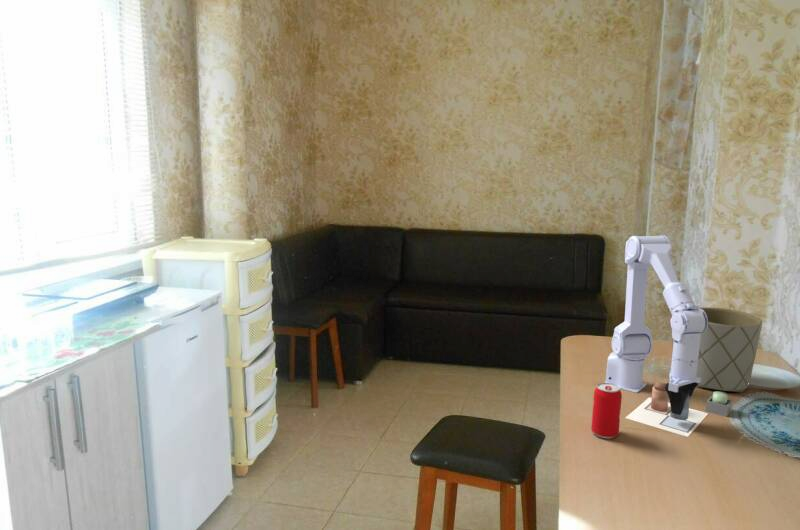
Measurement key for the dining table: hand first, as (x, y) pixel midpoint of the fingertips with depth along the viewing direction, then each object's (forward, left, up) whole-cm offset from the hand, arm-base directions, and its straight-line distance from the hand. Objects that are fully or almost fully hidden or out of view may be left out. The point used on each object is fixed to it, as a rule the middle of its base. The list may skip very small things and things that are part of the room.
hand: (679, 410), depth 153 cm
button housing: (+5, +15, -4) cm, 16 cm away
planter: (-1, +36, -4) cm, 36 cm away
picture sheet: (-4, +3, -4) cm, 6 cm away
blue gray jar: (0, 0, -2) cm, 2 cm away
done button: (+6, +15, -2) cm, 16 cm away
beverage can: (-12, -17, -4) cm, 21 cm away
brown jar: (-7, +6, -3) cm, 10 cm away
